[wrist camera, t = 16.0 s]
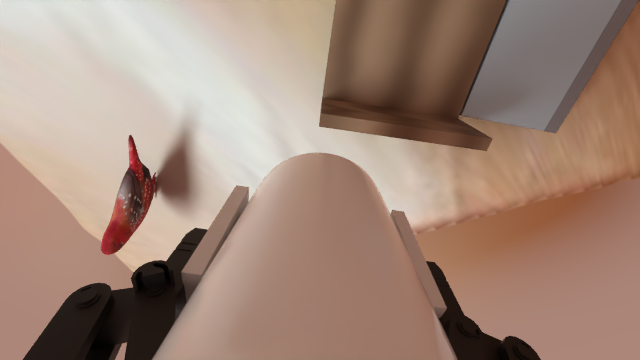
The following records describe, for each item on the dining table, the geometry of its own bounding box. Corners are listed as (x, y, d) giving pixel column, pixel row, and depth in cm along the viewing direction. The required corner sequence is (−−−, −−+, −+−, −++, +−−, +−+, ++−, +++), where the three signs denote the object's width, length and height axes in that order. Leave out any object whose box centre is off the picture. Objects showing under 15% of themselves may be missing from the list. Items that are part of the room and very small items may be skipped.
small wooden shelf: (321, 103, 31) (319, 126, 23) (346, -73, 24) (356, -141, 15) (443, 121, 32) (486, 150, 23) (506, -43, 24) (607, -92, 15)
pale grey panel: (461, 115, 29) (555, 133, 27) (522, -30, 22) (648, -16, 21) (458, 113, 30) (549, 130, 29) (515, -26, 23) (635, -13, 22)
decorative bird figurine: (142, 214, 41) (92, 261, 32) (151, 115, 33) (87, 142, 24) (160, 220, 41) (115, 267, 33) (173, 124, 33) (118, 153, 25)
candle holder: (218, 208, 17) (47, 467, 7) (313, 103, 14) (266, 311, 3) (321, 277, 20) (314, 528, 10) (421, 206, 17) (581, 485, 6)
